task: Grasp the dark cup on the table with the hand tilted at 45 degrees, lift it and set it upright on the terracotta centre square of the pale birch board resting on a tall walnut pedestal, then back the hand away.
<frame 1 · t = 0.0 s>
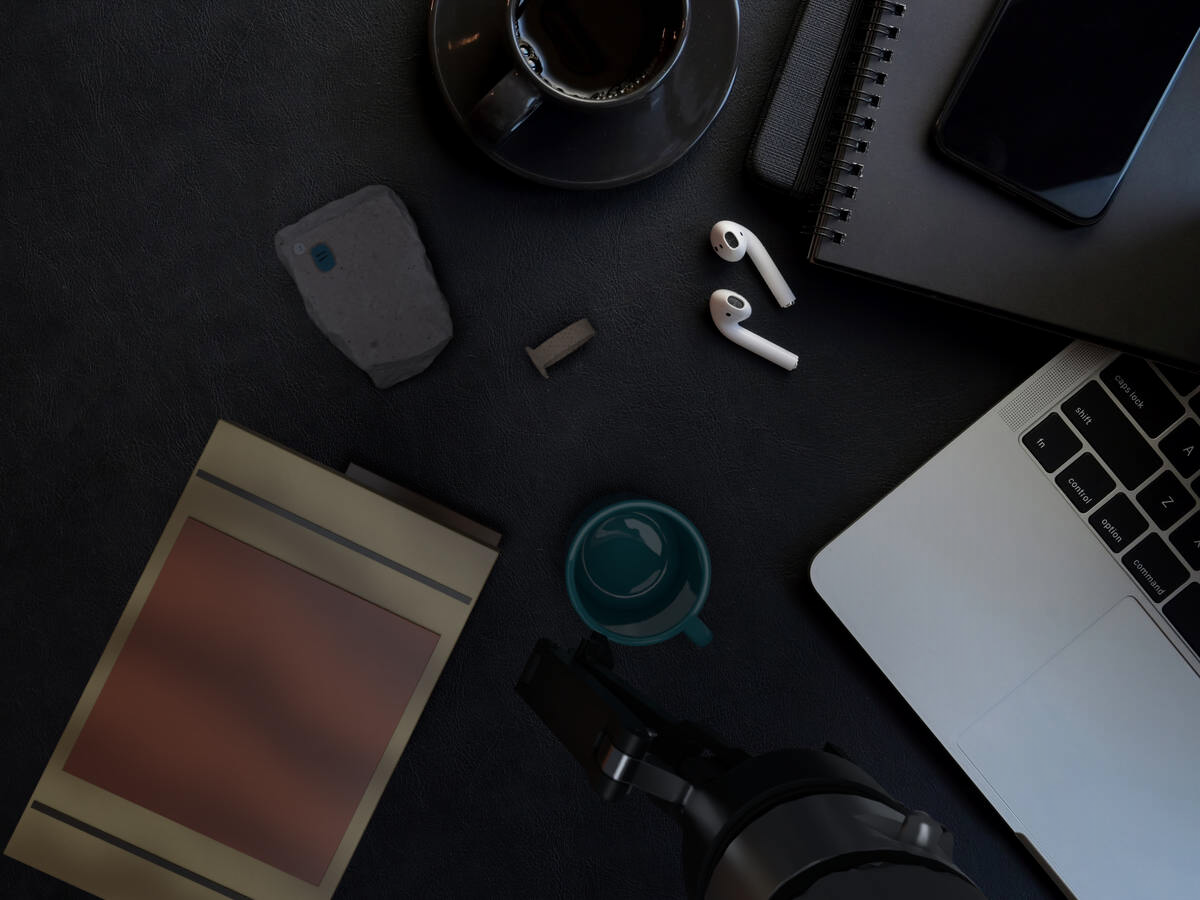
hand: (706, 712, 49), 20 cm above the table, tool pointing down, fingers open, 13 cm apart
board: (265, 692, 41), resting on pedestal
decorative stone: (377, 289, 68), on the table
flanged peg: (562, 349, 68), on the table
cup: (638, 567, 69), on the table
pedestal: (380, 597, 67), on the table
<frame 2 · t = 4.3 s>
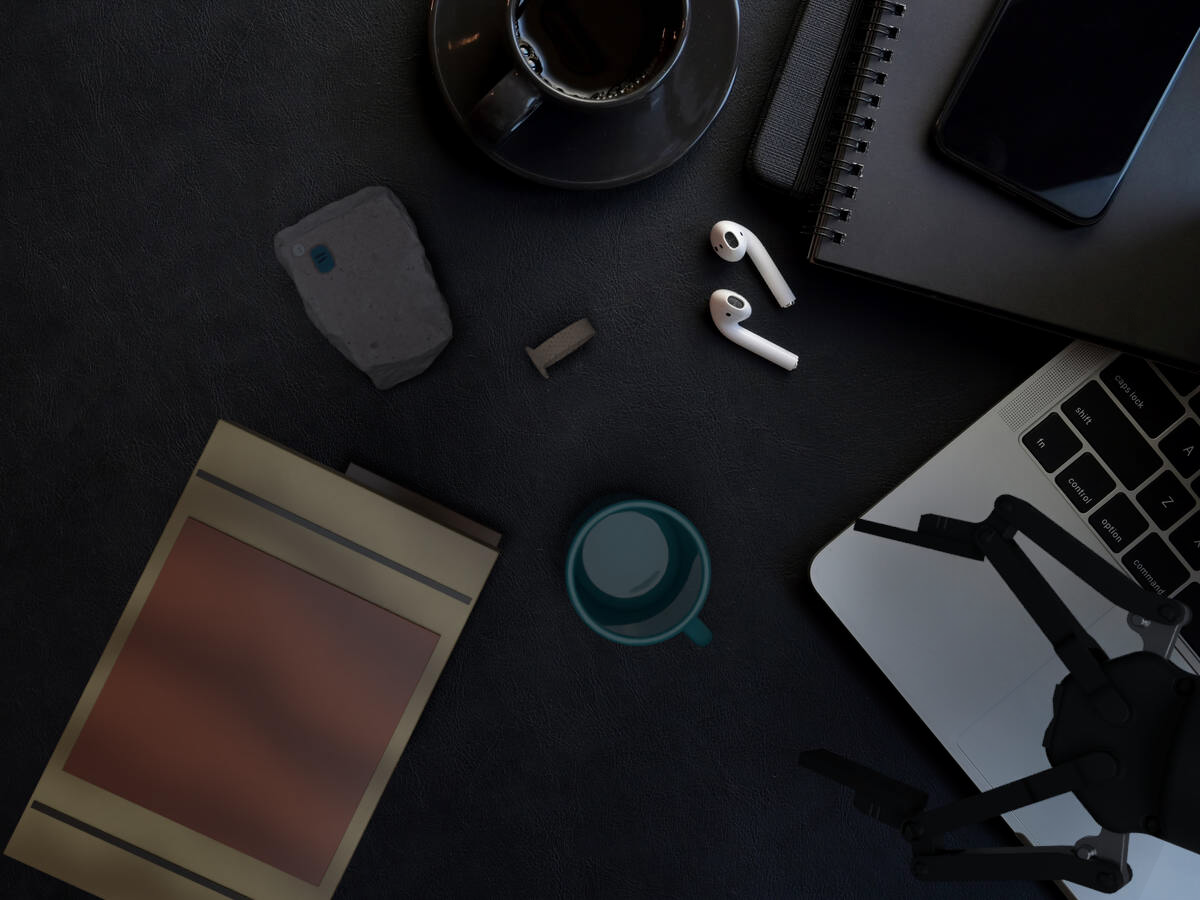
hand: (837, 640, 54), 15 cm above the table, tool tilted 45°, fingers open, 13 cm apart
nothing on the table moved.
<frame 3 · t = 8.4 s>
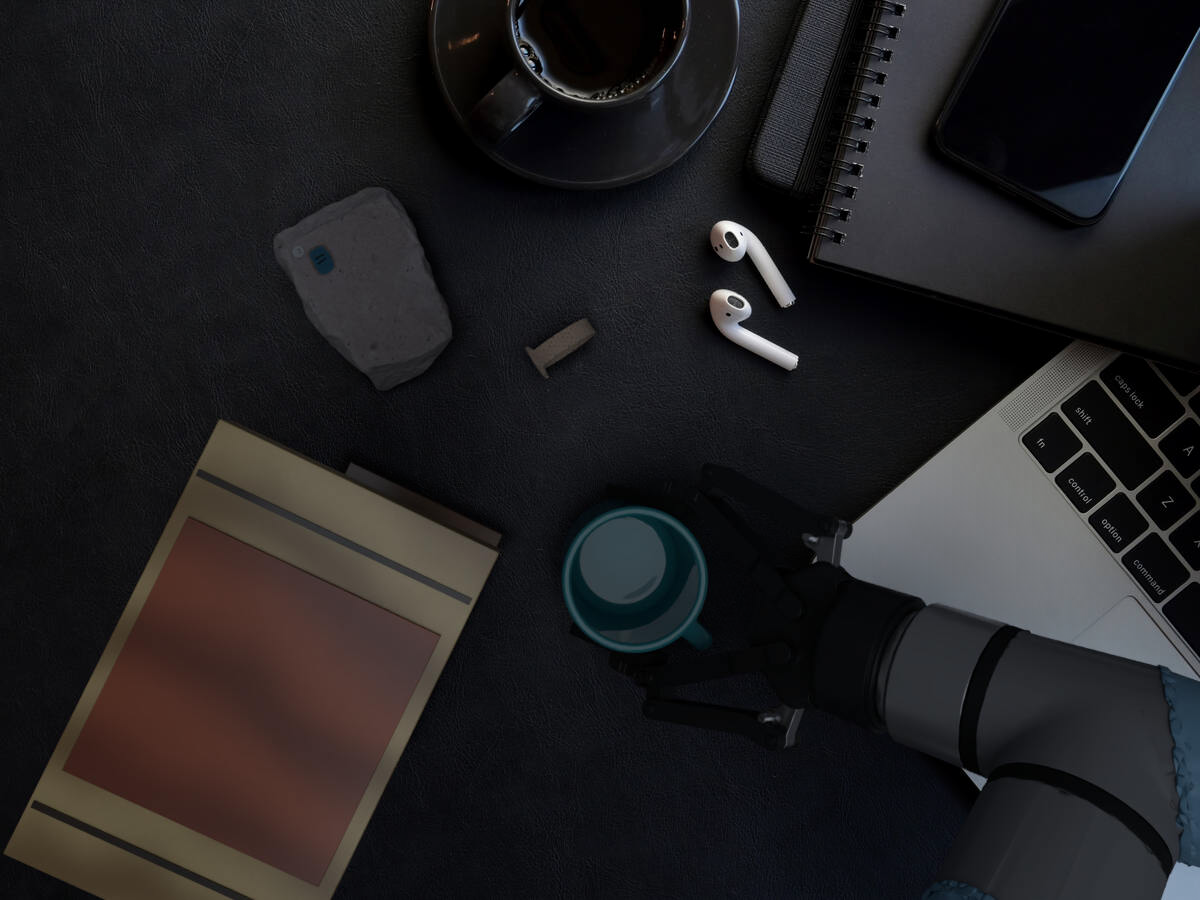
hand: (600, 560, 64), 4 cm above the table, tool tilted 45°, fingers closed on cup, 9 cm apart
cup: (636, 572, 69), on the table, touching gripper
everything else where it was.
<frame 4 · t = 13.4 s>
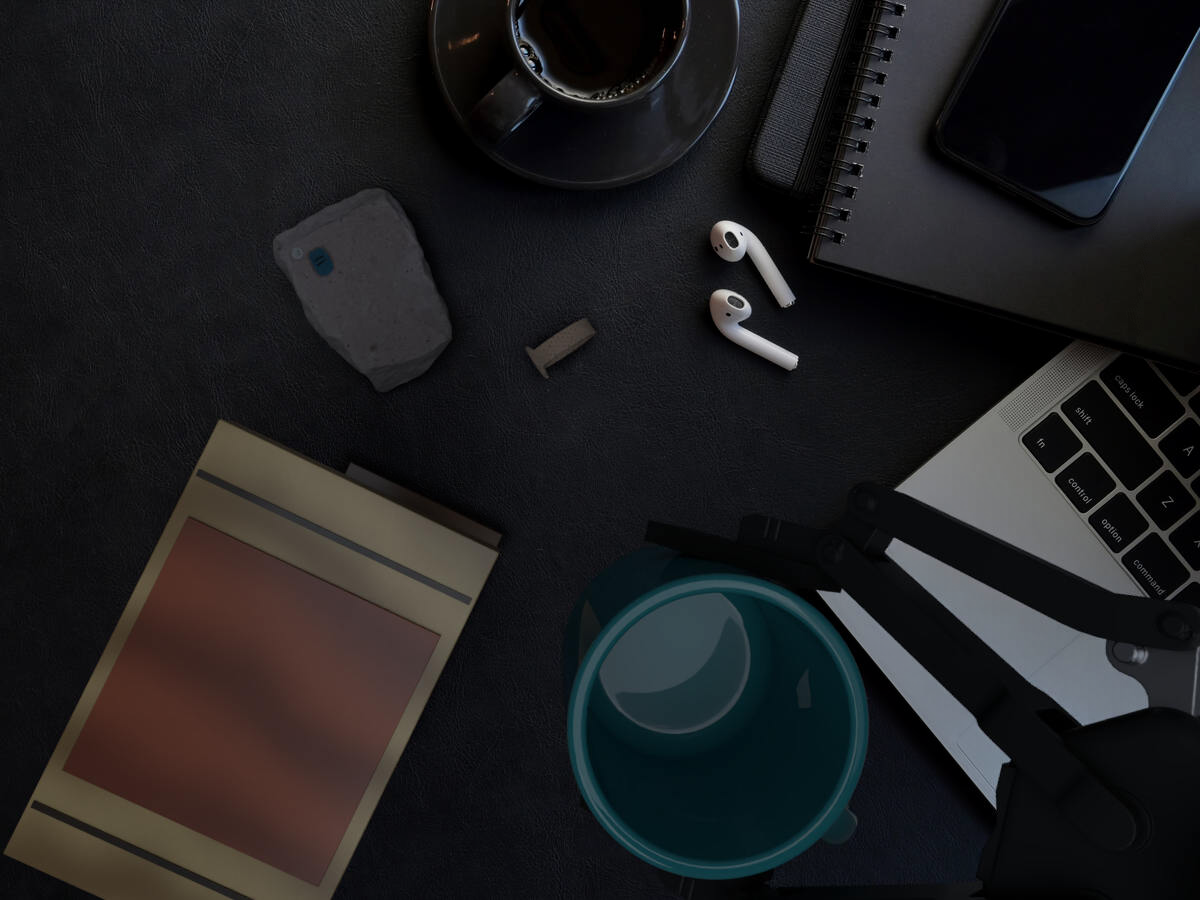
hand: (637, 663, 34), 34 cm above the table, tool tilted 45°, fingers closed on cup, 9 cm apart
cup: (695, 674, 39), point 30 cm above the table, touching gripper
everything else where it was.
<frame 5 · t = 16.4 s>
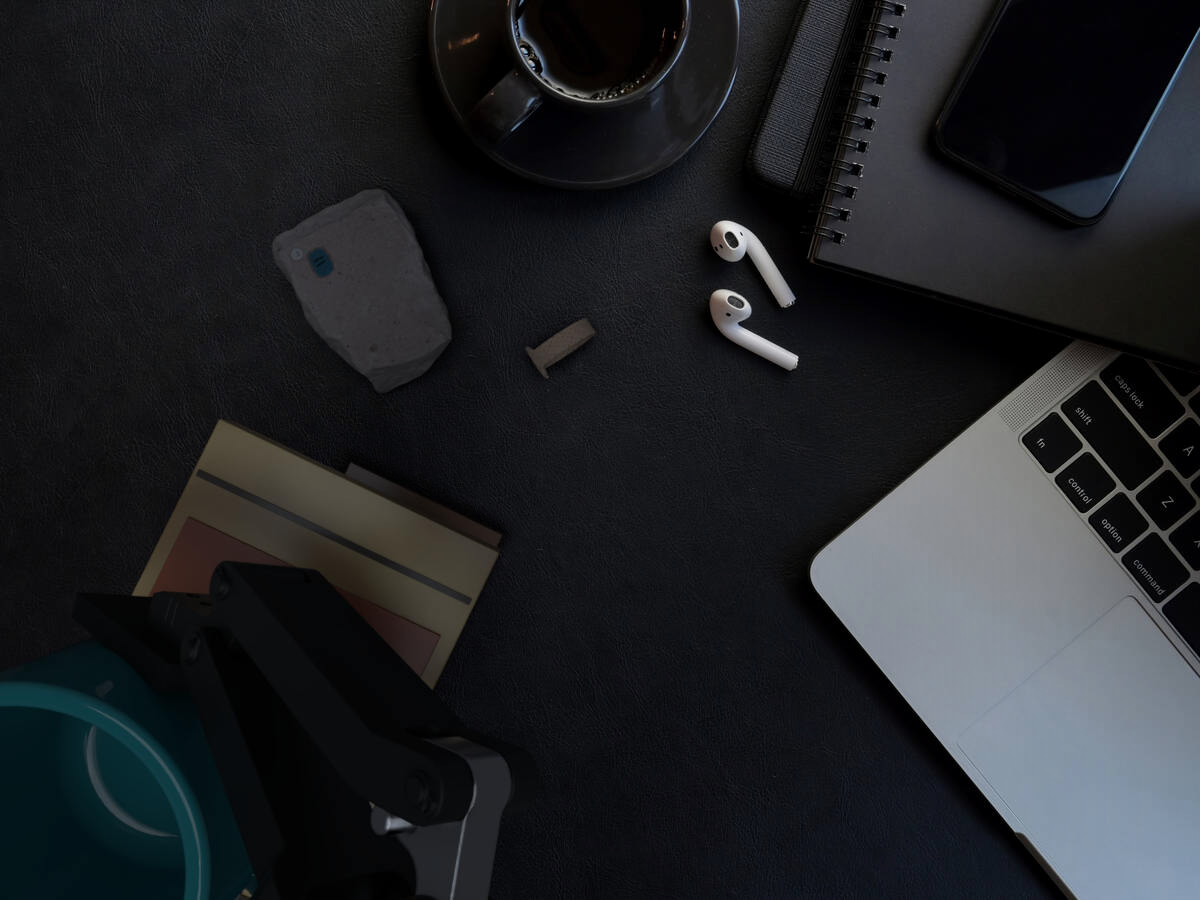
hand: (81, 764, 28), 39 cm above the table, tool tilted 45°, fingers closed on cup, 9 cm apart
cup: (227, 764, 33), point 35 cm above the table, touching gripper
everything else where it was.
when the fingers open (33 cm above the table, at t = 18.7 s): cup stays where it is, resting on board.
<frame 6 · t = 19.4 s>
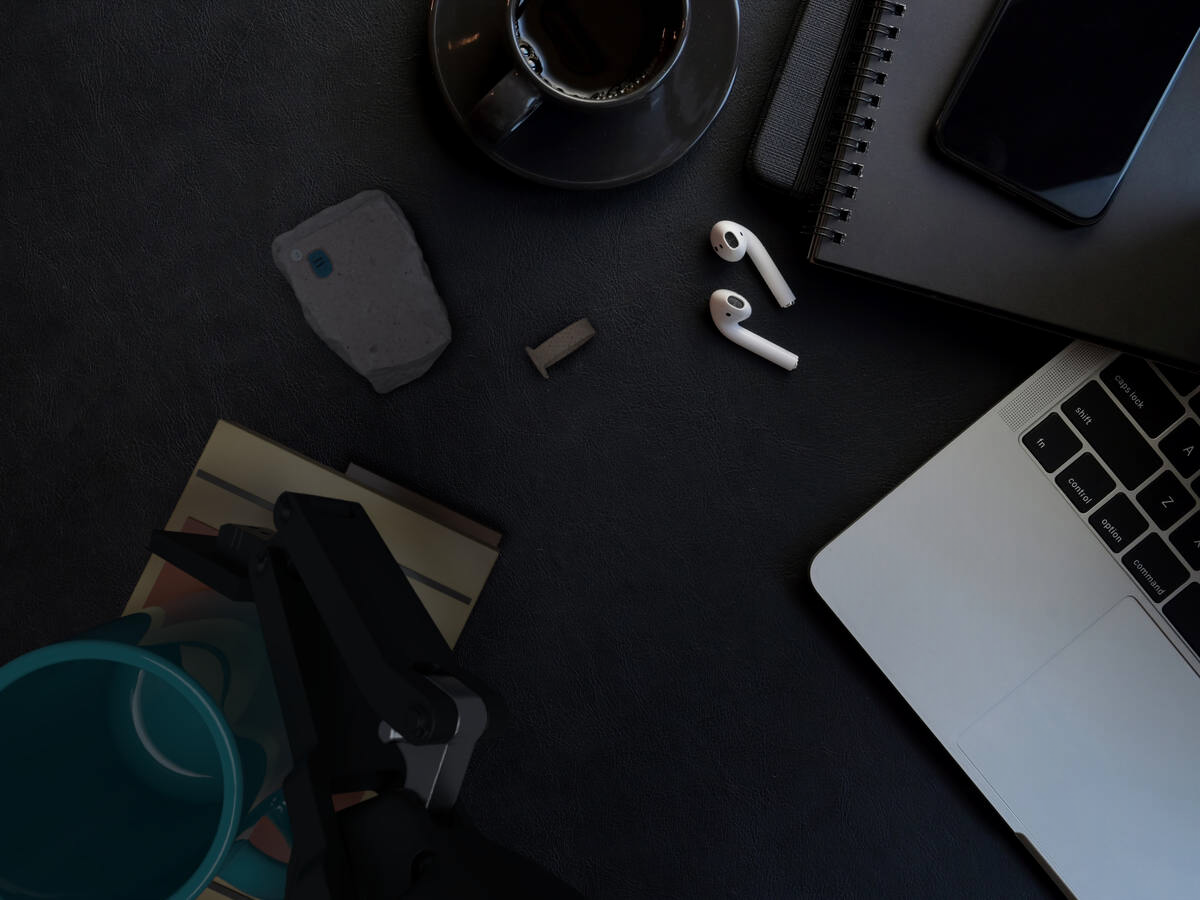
hand: (140, 727, 33), 34 cm above the table, tool tilted 45°, fingers open, 13 cm apart
cup: (249, 718, 39), point 29 cm above the table, touching board
everything else where it was.
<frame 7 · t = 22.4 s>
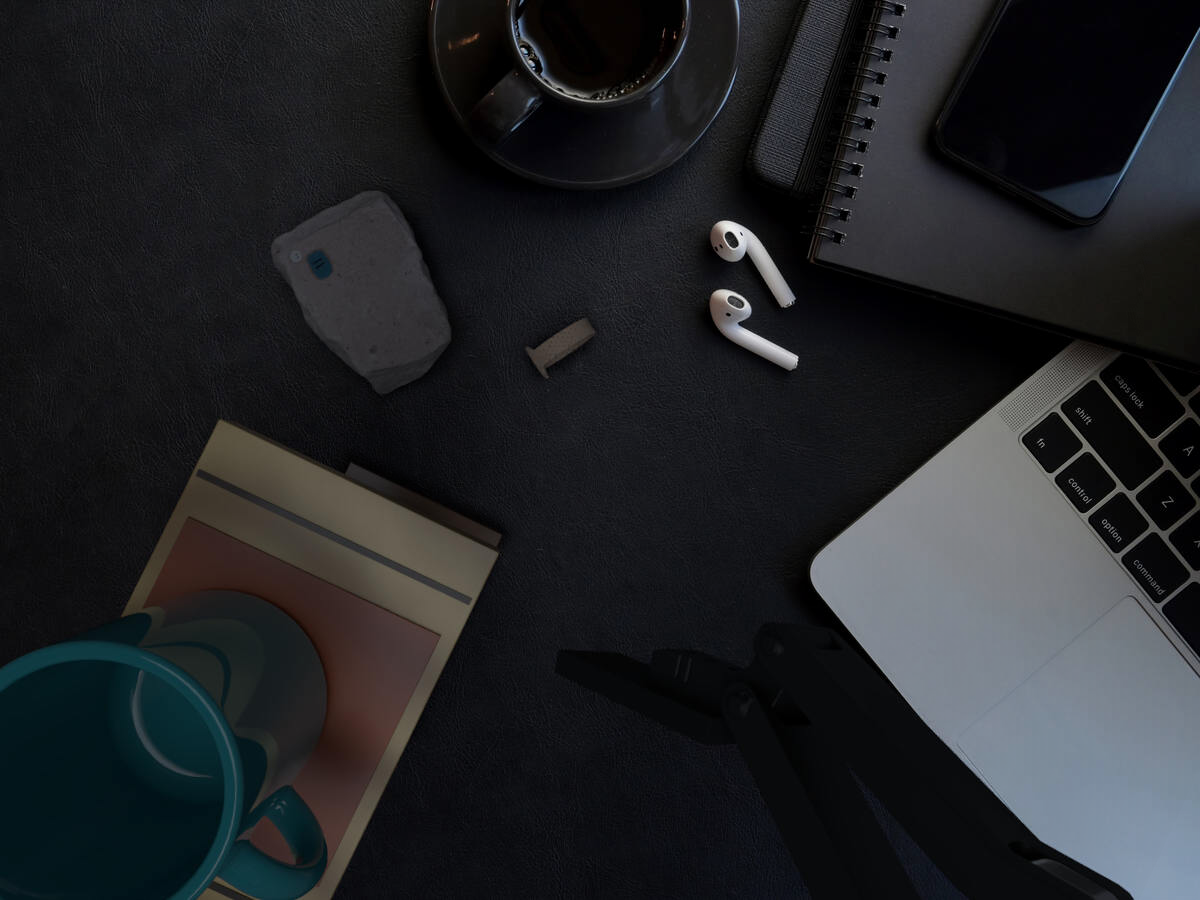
hand: (540, 866, 30), 38 cm above the table, tool tilted 40°, fingers open, 13 cm apart
nothing on the table moved.
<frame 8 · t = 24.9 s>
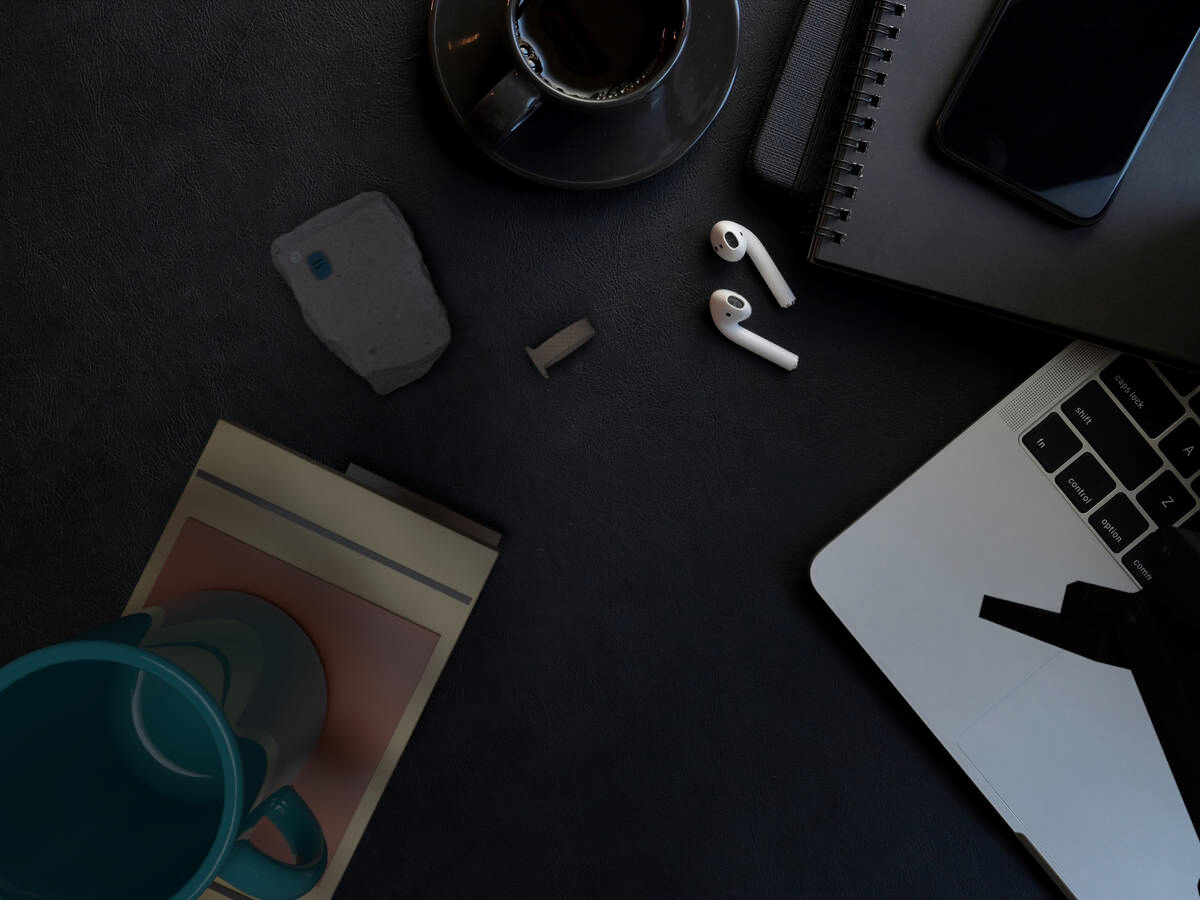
hand: (971, 820, 30), 39 cm above the table, tool pointing down, fingers open, 13 cm apart
nothing on the table moved.
at the end: cup inside the target area on the board (0.7 cm from its centre), point 1.5 cm above the board's base; cup tilted 0°; the gripper is holding nothing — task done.
